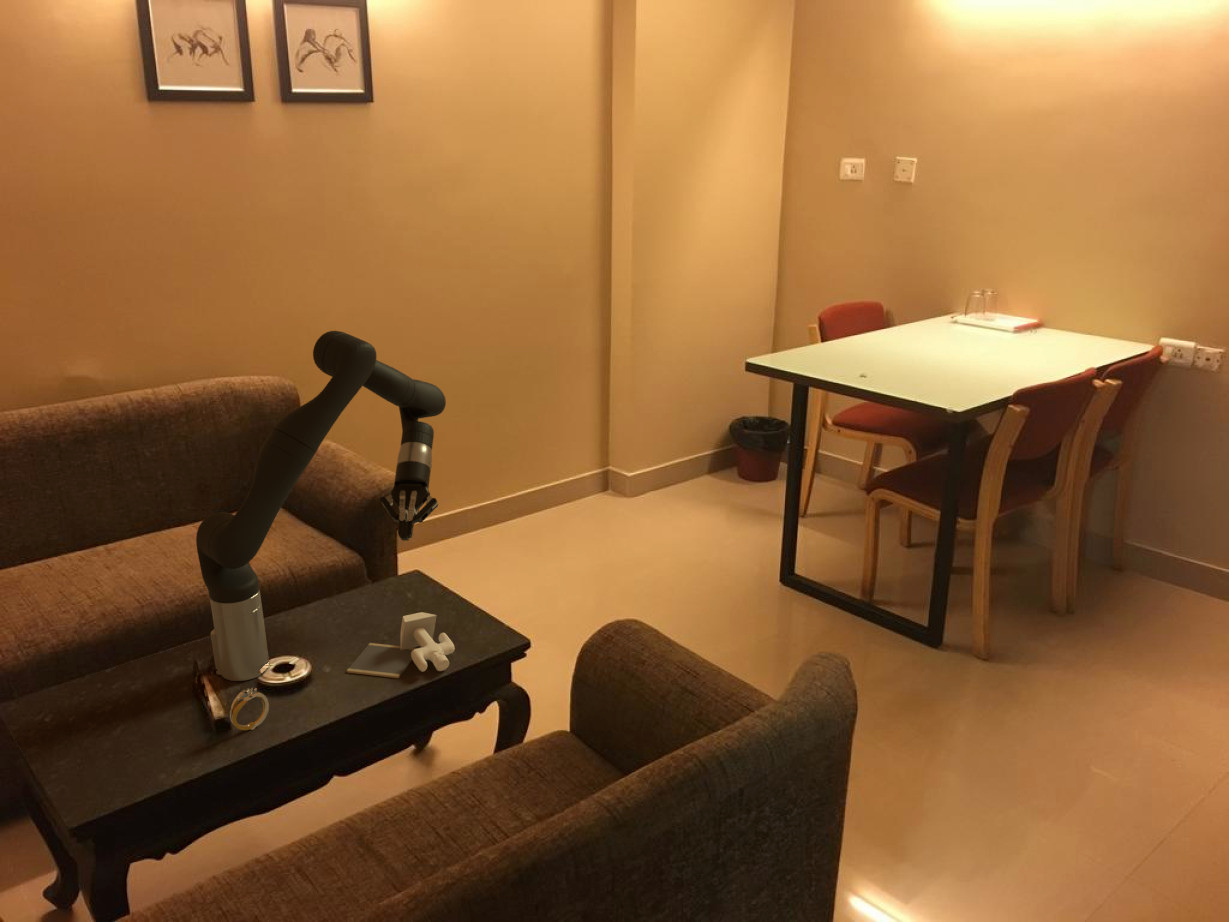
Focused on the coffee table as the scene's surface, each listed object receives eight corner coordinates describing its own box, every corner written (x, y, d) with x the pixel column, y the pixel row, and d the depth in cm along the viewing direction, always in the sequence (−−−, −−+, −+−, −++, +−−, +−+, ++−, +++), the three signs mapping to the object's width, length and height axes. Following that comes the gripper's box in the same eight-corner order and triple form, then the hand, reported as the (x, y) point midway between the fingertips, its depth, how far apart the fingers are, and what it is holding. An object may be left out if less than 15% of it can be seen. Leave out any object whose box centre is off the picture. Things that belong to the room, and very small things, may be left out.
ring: (266, 717, 181) (261, 679, 179) (274, 724, 179) (269, 687, 177) (229, 732, 177) (224, 694, 174) (237, 740, 175) (231, 701, 172)
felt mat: (346, 672, 196) (346, 670, 196) (370, 644, 206) (369, 642, 206) (398, 678, 194) (398, 676, 194) (419, 650, 204) (419, 648, 204)
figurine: (429, 631, 210) (461, 674, 200) (388, 641, 204) (420, 685, 194) (433, 604, 207) (467, 646, 197) (392, 613, 201) (424, 656, 191)
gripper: (380, 458, 215) (370, 532, 207) (440, 460, 215) (432, 533, 207) (387, 473, 221) (377, 544, 214) (445, 474, 221) (438, 546, 214)
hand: (404, 539), depth 210 cm, fingers closed
